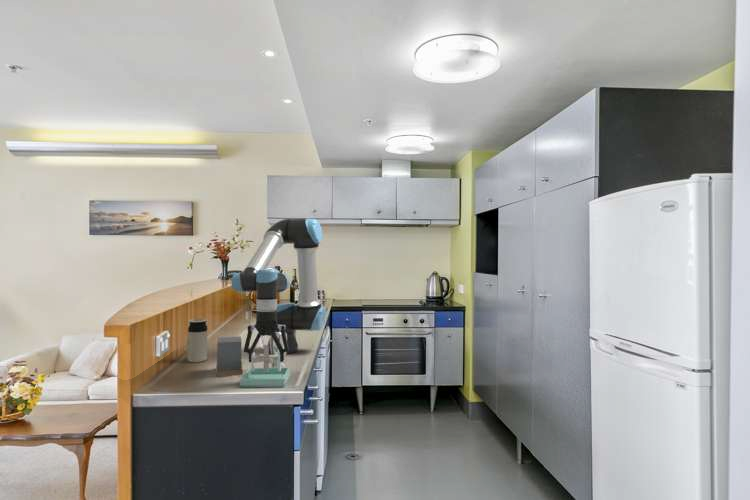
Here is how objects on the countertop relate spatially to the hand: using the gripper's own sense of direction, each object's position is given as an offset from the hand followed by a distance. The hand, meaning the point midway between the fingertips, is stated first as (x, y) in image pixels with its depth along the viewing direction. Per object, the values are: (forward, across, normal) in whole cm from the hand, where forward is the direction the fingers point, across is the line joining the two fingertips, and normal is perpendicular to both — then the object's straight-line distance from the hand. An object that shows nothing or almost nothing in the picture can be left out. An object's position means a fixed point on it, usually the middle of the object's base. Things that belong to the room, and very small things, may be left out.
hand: (266, 370), depth 164 cm
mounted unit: (+4, -17, +14) cm, 23 cm away
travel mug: (+4, -36, +34) cm, 49 cm away
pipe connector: (+1, 0, 0) cm, 1 cm away
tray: (+4, 0, 0) cm, 4 cm away
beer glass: (+4, +2, +16) cm, 17 cm away
